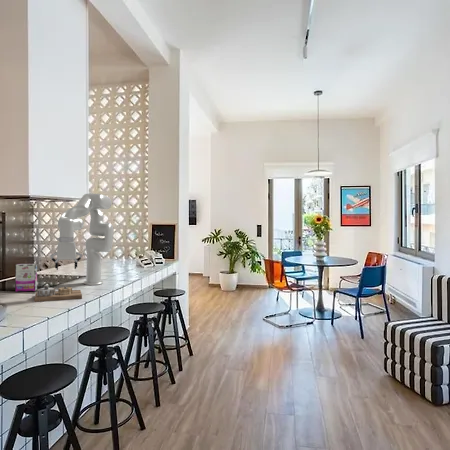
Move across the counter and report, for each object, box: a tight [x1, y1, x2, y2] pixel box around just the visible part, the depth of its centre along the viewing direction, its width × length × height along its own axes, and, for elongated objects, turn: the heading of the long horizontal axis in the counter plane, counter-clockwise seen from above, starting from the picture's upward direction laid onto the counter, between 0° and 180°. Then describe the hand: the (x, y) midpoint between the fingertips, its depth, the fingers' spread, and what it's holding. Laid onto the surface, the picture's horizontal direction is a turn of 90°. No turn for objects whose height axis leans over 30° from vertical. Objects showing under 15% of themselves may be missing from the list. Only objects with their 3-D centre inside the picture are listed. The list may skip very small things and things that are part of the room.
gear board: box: [34, 284, 83, 303], centre depth 208 cm, size 15×24×7 cm, turn 115°
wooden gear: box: [57, 286, 73, 295], centre depth 209 cm, size 7×7×3 cm
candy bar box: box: [14, 263, 38, 293], centre depth 221 cm, size 11×5×16 cm, turn 106°
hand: (66, 269), depth 209 cm, fingers open, 9 cm apart
